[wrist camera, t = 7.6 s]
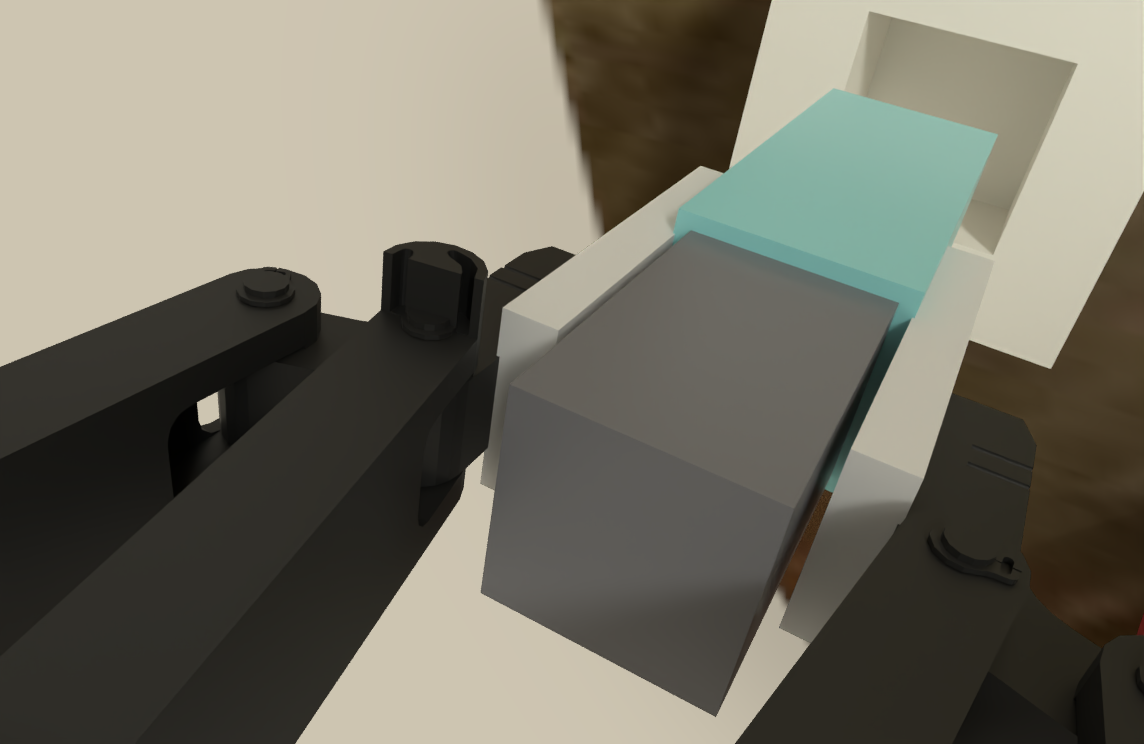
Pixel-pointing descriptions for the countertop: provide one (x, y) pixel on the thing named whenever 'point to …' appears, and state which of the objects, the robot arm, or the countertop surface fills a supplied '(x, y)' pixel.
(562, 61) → the countertop surface
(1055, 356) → the port
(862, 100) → the plug
